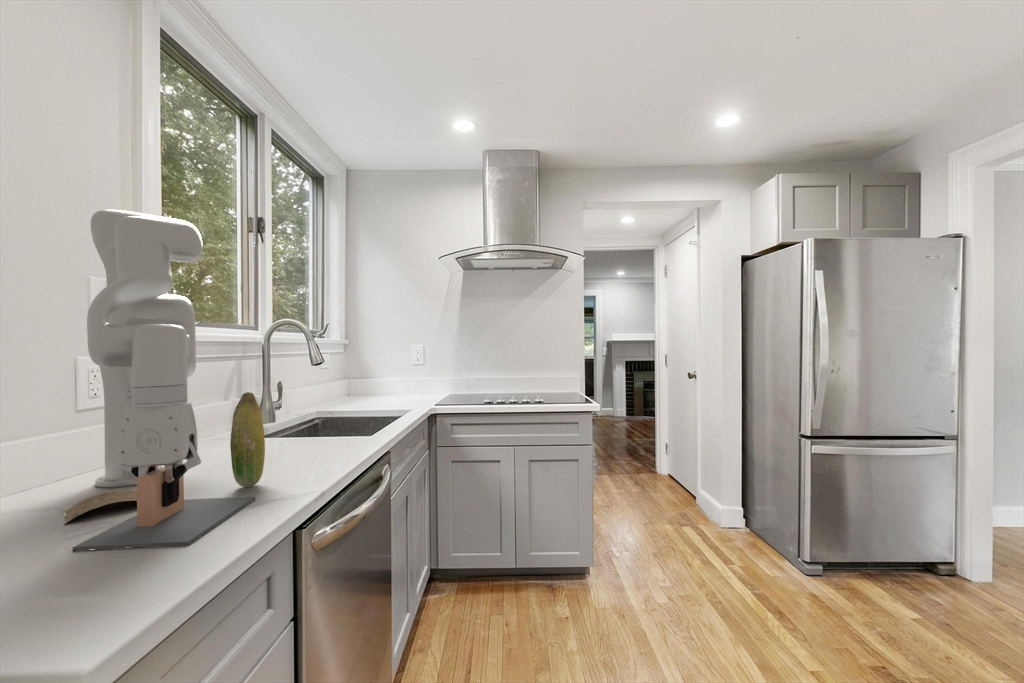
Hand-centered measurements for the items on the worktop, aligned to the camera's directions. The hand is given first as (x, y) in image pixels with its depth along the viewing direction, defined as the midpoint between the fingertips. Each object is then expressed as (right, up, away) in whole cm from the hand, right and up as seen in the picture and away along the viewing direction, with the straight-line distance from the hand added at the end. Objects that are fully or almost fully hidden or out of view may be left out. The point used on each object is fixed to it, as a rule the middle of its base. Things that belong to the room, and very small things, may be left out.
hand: (161, 503), depth 76 cm
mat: (+3, -3, -1) cm, 4 cm away
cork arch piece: (-15, -4, +7) cm, 17 cm away
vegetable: (+5, -3, +18) cm, 18 cm away
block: (0, -2, 0) cm, 2 cm away
